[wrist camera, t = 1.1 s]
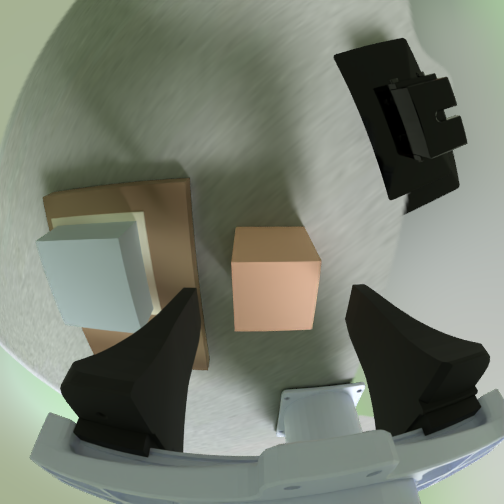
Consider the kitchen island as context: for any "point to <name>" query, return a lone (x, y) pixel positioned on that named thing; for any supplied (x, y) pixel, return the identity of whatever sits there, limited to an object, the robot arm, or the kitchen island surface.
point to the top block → (274, 279)
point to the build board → (141, 240)
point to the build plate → (405, 120)
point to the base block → (97, 275)
